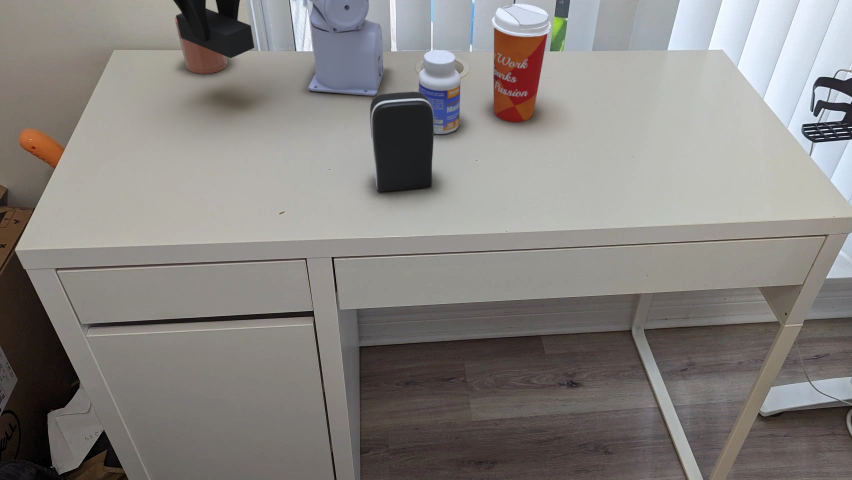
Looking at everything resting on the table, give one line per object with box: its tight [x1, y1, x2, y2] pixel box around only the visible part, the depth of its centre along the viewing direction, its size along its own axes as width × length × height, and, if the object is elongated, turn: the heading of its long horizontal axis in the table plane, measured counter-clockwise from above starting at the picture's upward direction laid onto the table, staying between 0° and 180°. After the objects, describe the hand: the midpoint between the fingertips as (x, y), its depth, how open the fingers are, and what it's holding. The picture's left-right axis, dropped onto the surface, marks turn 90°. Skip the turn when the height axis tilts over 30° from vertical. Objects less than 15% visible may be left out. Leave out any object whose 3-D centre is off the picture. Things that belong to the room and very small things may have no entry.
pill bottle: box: [418, 49, 461, 135], centre depth 94 cm, size 5×5×10 cm
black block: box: [175, 8, 255, 59], centre depth 92 cm, size 9×4×3 cm, turn 58°
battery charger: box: [369, 91, 435, 192], centre depth 83 cm, size 7×4×11 cm, turn 106°
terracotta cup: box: [174, 12, 228, 75], centre depth 103 cm, size 6×6×7 cm
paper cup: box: [491, 3, 552, 123], centre depth 97 cm, size 8×8×14 cm
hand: (215, 32), depth 92 cm, fingers closed on black block, 4 cm apart
